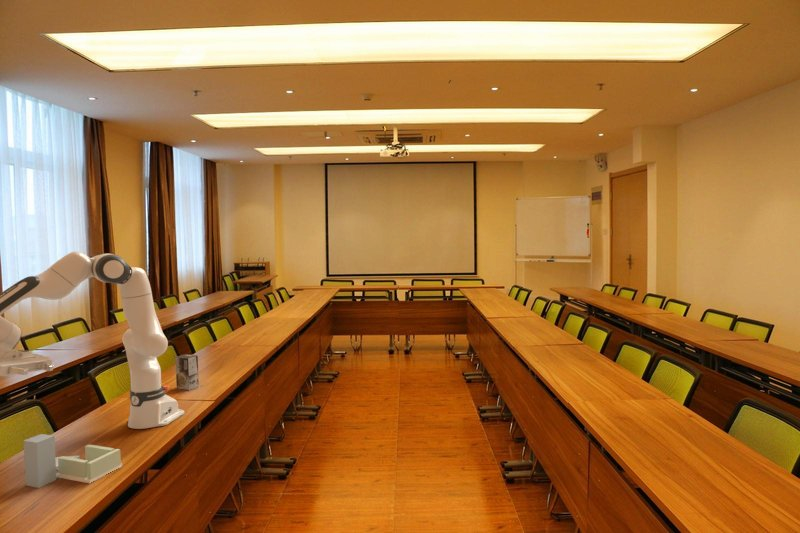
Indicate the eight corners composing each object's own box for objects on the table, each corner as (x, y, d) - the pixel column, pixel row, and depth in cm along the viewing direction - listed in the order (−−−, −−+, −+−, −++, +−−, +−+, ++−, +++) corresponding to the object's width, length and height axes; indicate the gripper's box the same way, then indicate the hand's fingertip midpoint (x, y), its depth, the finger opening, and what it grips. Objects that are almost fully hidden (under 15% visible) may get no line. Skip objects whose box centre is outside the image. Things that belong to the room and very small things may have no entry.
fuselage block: (43, 477, 160) (41, 433, 159) (56, 479, 158) (54, 435, 157) (25, 485, 155) (23, 440, 154) (39, 488, 153) (36, 442, 152)
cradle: (89, 460, 171) (89, 443, 171) (122, 466, 167) (121, 448, 166) (56, 477, 160) (55, 458, 159) (89, 483, 155) (88, 464, 155)
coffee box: (199, 386, 256) (198, 355, 255) (189, 390, 250) (188, 358, 249) (186, 384, 260) (185, 353, 259) (175, 388, 254) (174, 356, 253)
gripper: (-26, 355, 158) (11, 364, 155) (33, 350, 178) (66, 357, 175) (-30, 376, 158) (7, 384, 155) (29, 367, 178) (62, 375, 175)
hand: (39, 370), depth 165 cm, fingers open, 8 cm apart
